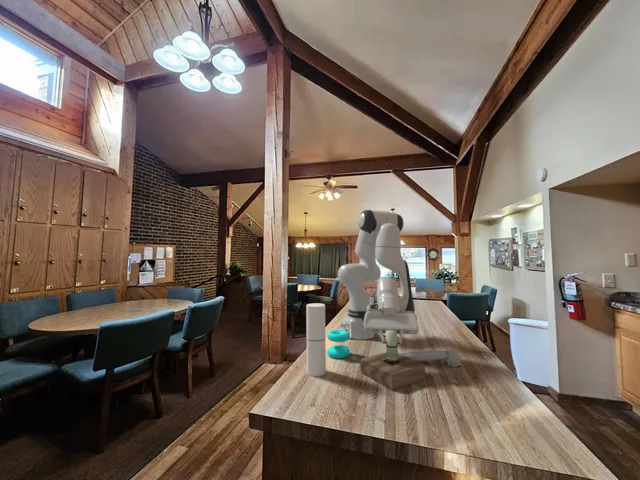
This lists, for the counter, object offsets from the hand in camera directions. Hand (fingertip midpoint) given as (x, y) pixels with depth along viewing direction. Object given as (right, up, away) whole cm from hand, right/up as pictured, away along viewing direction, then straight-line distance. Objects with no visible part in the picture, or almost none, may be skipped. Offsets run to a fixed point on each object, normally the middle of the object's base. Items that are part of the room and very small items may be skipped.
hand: (391, 343), depth 100 cm
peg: (0, -6, 0) cm, 6 cm away
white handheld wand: (+17, -13, +11) cm, 24 cm away
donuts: (-18, -13, +21) cm, 31 cm away
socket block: (0, -12, 0) cm, 12 cm away
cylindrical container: (-28, -12, +4) cm, 30 cm away
